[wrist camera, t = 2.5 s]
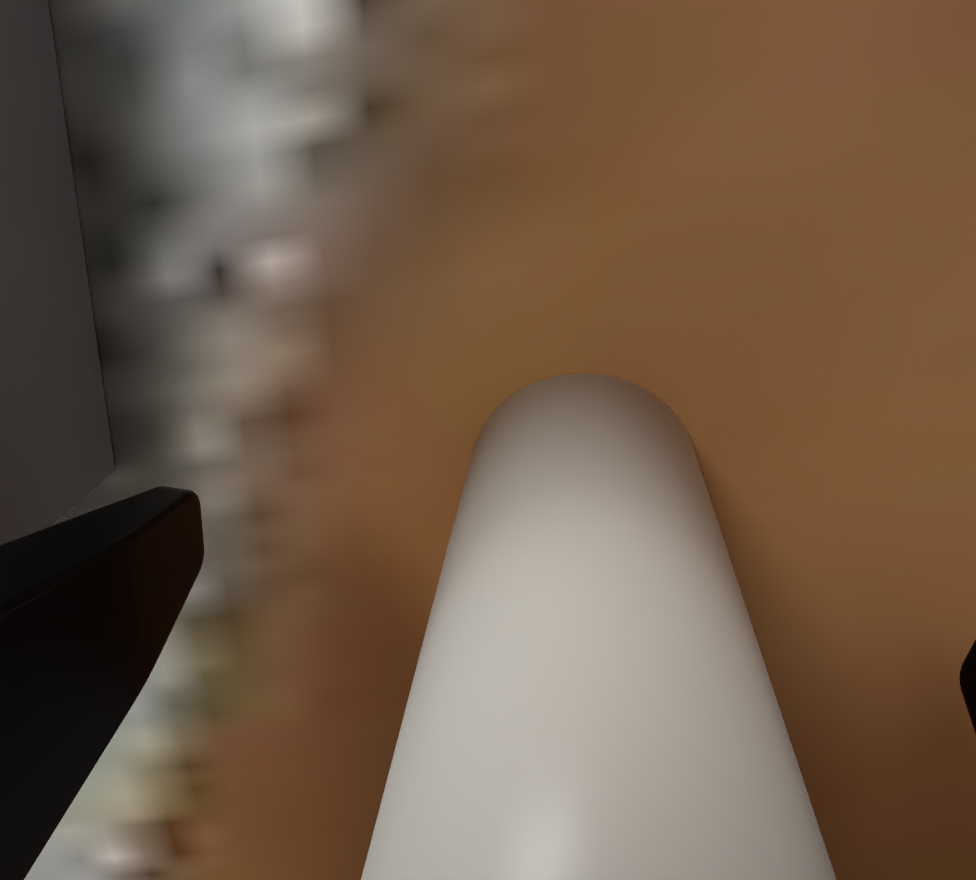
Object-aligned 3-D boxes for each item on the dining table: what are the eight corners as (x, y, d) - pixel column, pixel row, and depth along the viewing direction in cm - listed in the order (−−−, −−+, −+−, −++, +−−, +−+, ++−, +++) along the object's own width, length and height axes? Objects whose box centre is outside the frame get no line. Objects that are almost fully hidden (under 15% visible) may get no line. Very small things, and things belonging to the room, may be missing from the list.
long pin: (668, 583, 11) (845, 1498, 4) (460, 552, 11) (268, 1382, 4) (721, 391, 10) (1152, 1284, 2) (482, 357, 10) (244, 1121, 3)
